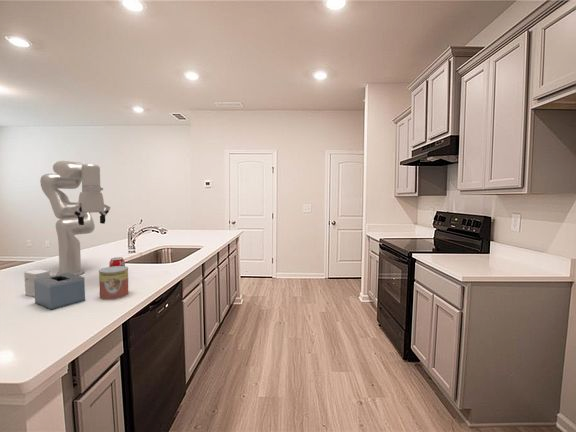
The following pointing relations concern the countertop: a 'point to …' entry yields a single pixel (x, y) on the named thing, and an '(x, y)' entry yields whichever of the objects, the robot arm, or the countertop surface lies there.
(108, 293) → the canned food
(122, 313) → the countertop surface
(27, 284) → the small box
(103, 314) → the countertop surface
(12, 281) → the countertop surface
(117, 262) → the soda can
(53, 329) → the countertop surface
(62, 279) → the grey block
